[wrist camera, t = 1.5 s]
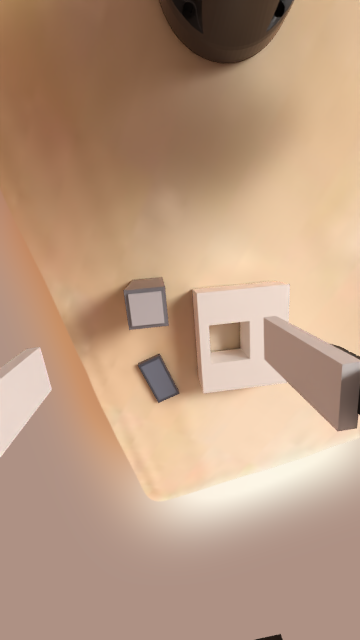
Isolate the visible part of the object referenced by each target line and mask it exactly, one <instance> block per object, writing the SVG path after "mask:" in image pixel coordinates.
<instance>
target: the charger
mask: <svg viewBox="0 0 360 640" xmlns="http://www.w3.org/2000/svg"><path fill="white" fill-rule="evenodd" d="M124 297H125V304H126V311H127V318H128V325H129V330H132V329H142V328H151V327H160V326H169V324H168V314H167V304H166V294H165V286H164V282H163V279H162V277H159V278H149V279H138V280H132V281H131V282H130V284H129V285H128V286H127V287H126V288H125V289H124Z"/></svg>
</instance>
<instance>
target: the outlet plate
mask: <svg viewBox="0 0 360 640" xmlns="http://www.w3.org/2000/svg"><path fill="white" fill-rule="evenodd" d="M192 293H193V307H194V321H195V335H196V349H197V363H198V377H199V382H200V385H201V388H202V391H203V393H211V392H219V391H226V390H234V389H242V388H250V387H258V386H265V385H273V384H281V383H287V381H286V380H285V379H284V378H283V377H282V376H281V375H280V374H279V373H278V372H277V371H276V370H275V369H274V368H273V367H272V366H271V365H270V364H268V363H267V362H266V361H265V360H264V317H271V316H277V317H279V318H281V319H283V320H285V321H287V322H289V298H290V284H287V283H283V282H278V281H269V282H259V283H249V284H239V285H228V286H218V287H208V288H198V289H192ZM236 322H240V345H241V349H232V350H223V351H215V352H210V335H209V325H218V324H227V323H236Z"/></svg>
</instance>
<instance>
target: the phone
mask: <svg viewBox="0 0 360 640" xmlns="http://www.w3.org/2000/svg"><path fill="white" fill-rule="evenodd" d="M138 367H139V368H140V370H141V372H142V374H143V376H144V377H145V379H146V381H147V383H148V385H149V386H150V388H151V390H152V392H153V394H154V396H155V397H156V399H157V401H158V403H159V402H162V401H164V400H166V399H168V398H170V397H173V396H175V395H177V394H179V390H178V388H177V387H176V385H175V383H174V381H173V379H172V377H171V375H170V373H169V371H168V369H167V367H166V365H165V363H164V361H163V359H162V357H161V355H160V354H158V355H155V356H153V357H151V358H149V359H147V360H144V361H142V362H140V363H138Z"/></svg>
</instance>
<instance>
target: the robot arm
mask: <svg viewBox="0 0 360 640" xmlns="http://www.w3.org/2000/svg"><path fill="white" fill-rule="evenodd" d="M293 2H294V0H160V4H161V7H162V9H163V12H164V14H165V17H166V19H167V21H168V23H169V24H170V26H171V28H172V29H173V31H174V32H175V34H176V35H177V36H178V38H179V39H180V40H181V41H182V42H183V43H184V44H185V45H186V46H187V47H188V48H189V49H191V50H192V51H193V52H195V53H196V54H198V55H199V56H201V57H203V58H206V59H208V60H211V61H215V62H221V63H232V62H238V61H242V60H245V59H247V58H249V57H251V56H253V55H255V54H256V53H258V52H259V51H261V50H262V49H263V48H264V47H265V46H266V45H267V44H268V43H269V42H270V41H271V40H272V39H273V37H274V36H275V35H276V33H277V32H278V30H279V28H280V27H281V25H282V23H283V21H284V19H285V18H286V16H287V14H288V12H289V10H290V8H291V6H292V4H293ZM264 360H265V361H266V362H267V363H268V364H270V365H271V366H272V367H273V368H274V369H275V370H276V371H277V372H278V373H279V374H280V375H281V376H282V377H283V378H284V379H285V380H286V381H287V382H288V383H289V384H290V385H291V386H292V387H293V388H294V389H295V390H296V391H297V392H298V393H299V394H300V395H301V396H302V397H303V398H304V399H305V400H306V401H307V402H308V403H309V404H310V405H311V406H312V407H313V408H314V409H315V410H316V411H318V412H319V413H320V414H321V415H322V416H323V417H324V418H325V419H326V420H327V421H328V422H329V423H330V424H331V425H332V426H333V427H334V428H335V429H336V430H337V431H342V430H348V429H355V428H357V422H358V414H359V415H360V356H356V354H354V353H352V352H349V351H348V350H346V349H344V348H342V347H340V346H336V345H333V344H329V343H327V342H325V341H323V340H321V339H319V338H317V337H315V336H313V335H312V334H310V333H308V332H306V331H304V330H302V329H300V328H298V327H296V326H294V325H292V324H290V323H289V322H287V321H285V320H283V319H281V318H279V317H277V316H271V317H264ZM51 390H52V388H51V385H50V382H49V377H48V374H47V370H46V367H45V363H44V359H43V356H42V352H41V349H40V347H35V348H27V349H25V350H24V351H23V352H21V353H20V354H19V355H17V356H16V357H14V358H13V359H12V360H10V361H9V362H8V363H6V364H5V365H4V366H2V367H1V368H0V457H1V456H2V455H3V453H4V452H5V451H6V449H7V448H8V447H9V445H10V444H11V443H12V441H13V440H14V439H15V438H16V436H17V435H18V433H19V432H20V431H21V430H22V428H23V427H24V426H25V424H26V423H27V422H28V420H29V419H30V418H31V416H32V415H33V414H34V412H35V411H36V410H37V409H38V407H39V406H40V404H41V403H42V402H43V401H44V399H45V398H46V397H47V395H48V394H49V393H50V391H51ZM256 640H282V637H281V634H280V635H274V636H270V637H265V638H260V639H256Z"/></svg>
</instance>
